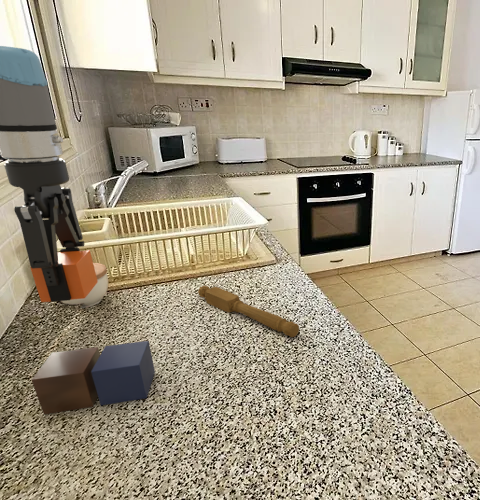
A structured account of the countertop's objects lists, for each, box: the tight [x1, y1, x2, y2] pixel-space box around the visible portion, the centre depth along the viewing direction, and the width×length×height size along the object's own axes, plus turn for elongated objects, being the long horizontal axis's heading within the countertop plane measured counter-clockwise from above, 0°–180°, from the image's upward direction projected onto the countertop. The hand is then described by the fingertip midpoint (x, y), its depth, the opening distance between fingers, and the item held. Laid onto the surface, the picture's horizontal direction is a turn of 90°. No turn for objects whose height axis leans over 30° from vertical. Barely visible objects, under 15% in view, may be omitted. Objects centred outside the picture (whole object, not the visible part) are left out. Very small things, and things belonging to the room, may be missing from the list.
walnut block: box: [31, 346, 101, 415], centre depth 58 cm, size 6×6×6 cm
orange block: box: [30, 249, 98, 303], centre depth 65 cm, size 6×6×6 cm
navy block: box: [91, 340, 156, 406], centre depth 60 cm, size 6×6×6 cm
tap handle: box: [197, 285, 300, 338], centre depth 83 cm, size 3×3×30 cm
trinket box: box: [60, 262, 109, 309], centre depth 85 cm, size 11×11×9 cm
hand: (70, 290), depth 66 cm, fingers closed on orange block, 6 cm apart
